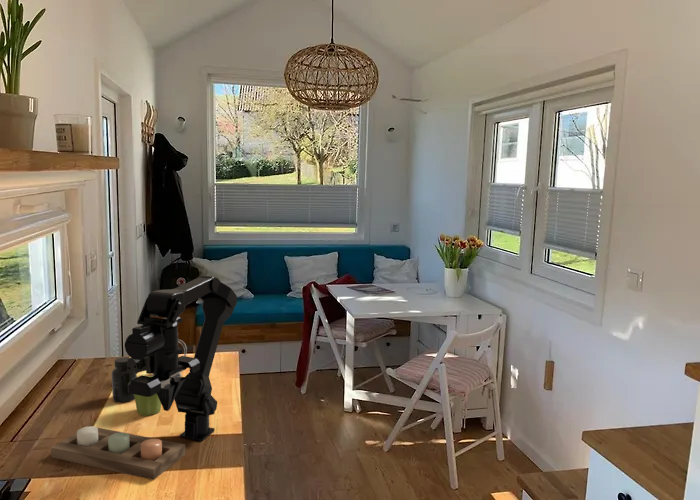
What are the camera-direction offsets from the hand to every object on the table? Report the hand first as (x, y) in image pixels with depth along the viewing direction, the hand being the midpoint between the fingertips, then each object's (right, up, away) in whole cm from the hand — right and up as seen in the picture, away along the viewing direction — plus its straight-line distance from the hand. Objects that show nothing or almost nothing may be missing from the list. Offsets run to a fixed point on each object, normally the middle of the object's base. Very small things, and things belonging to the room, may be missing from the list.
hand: (166, 410), depth 131 cm
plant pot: (-14, -8, +26) cm, 31 cm away
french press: (-17, -4, +53) cm, 56 cm away
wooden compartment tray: (-12, -11, +2) cm, 16 cm away
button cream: (-20, -10, +4) cm, 23 cm away
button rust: (-3, -12, -1) cm, 12 cm away
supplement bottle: (-24, -7, +34) cm, 42 cm away
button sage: (-12, -11, +2) cm, 16 cm away
